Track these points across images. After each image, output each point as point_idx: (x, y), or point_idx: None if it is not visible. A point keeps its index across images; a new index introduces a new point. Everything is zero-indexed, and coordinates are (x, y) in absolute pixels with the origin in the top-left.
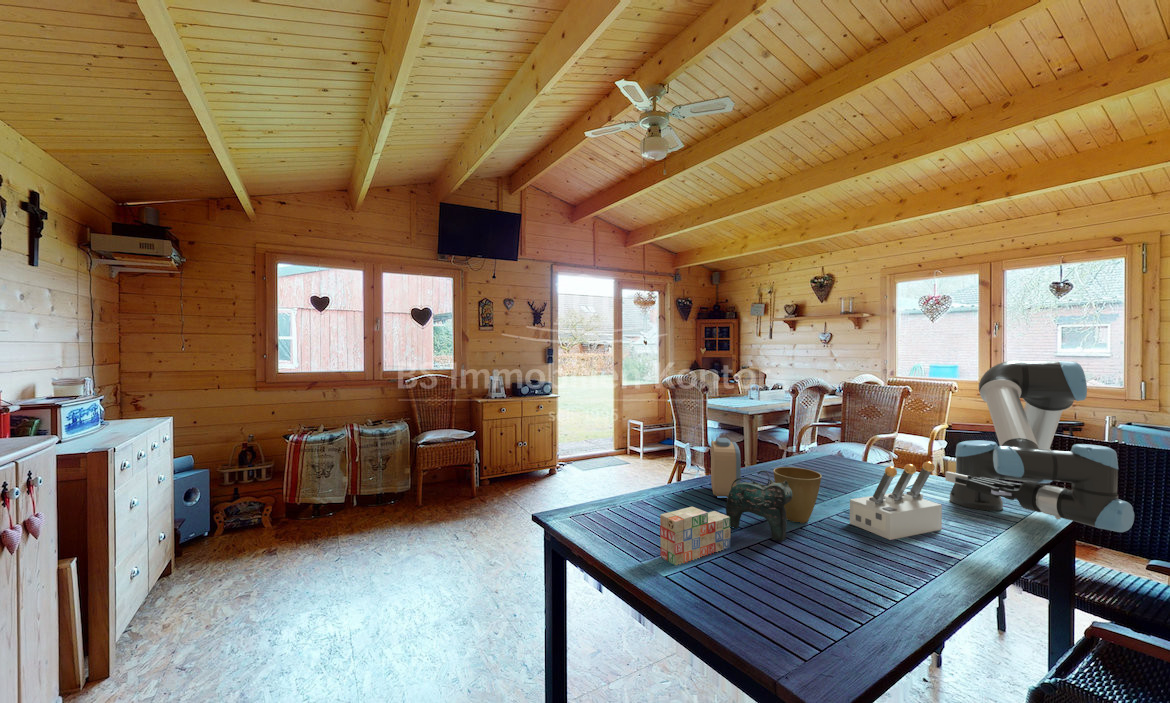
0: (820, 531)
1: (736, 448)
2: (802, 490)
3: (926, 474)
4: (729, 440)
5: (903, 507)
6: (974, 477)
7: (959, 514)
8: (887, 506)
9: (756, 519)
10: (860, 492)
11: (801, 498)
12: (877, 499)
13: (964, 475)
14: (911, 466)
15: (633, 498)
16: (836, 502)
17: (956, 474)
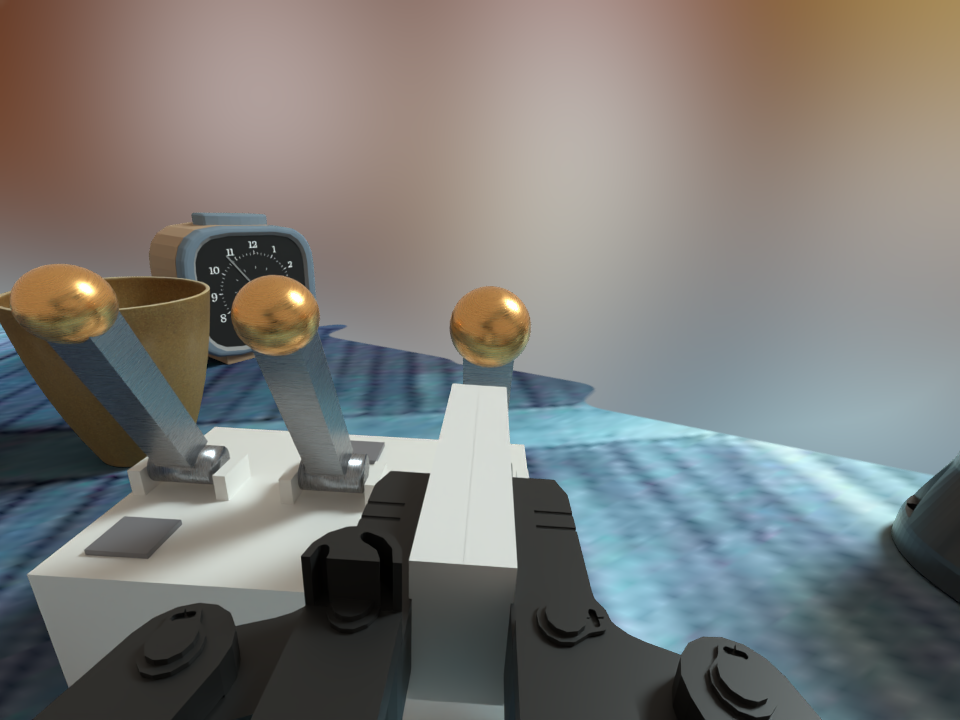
0: (33, 519)
1: (202, 228)
2: (18, 352)
3: (470, 382)
4: (235, 214)
5: (253, 547)
6: (541, 602)
7: (837, 629)
8: (205, 511)
9: (64, 420)
10: (586, 413)
11: (37, 382)
12: (156, 462)
13: (477, 488)
14: (242, 291)
15: None
16: (430, 425)
17: (441, 440)
